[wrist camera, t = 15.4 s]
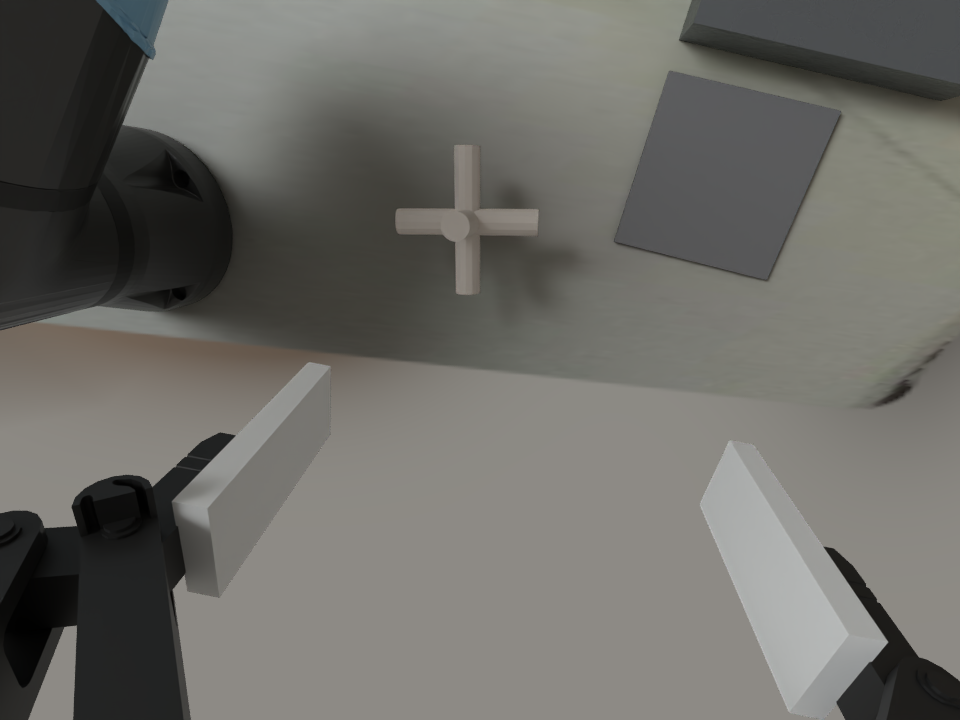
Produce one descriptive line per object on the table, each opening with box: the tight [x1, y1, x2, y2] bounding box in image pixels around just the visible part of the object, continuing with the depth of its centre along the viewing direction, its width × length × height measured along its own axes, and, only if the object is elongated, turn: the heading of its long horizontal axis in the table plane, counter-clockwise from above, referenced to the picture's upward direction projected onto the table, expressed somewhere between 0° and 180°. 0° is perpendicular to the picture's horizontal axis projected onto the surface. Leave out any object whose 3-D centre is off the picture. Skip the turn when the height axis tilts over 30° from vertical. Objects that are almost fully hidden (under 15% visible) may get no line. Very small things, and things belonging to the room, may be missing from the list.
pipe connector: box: [395, 145, 539, 295], centre depth 34 cm, size 10×10×10 cm
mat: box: [614, 71, 841, 280], centre depth 36 cm, size 12×12×1 cm
